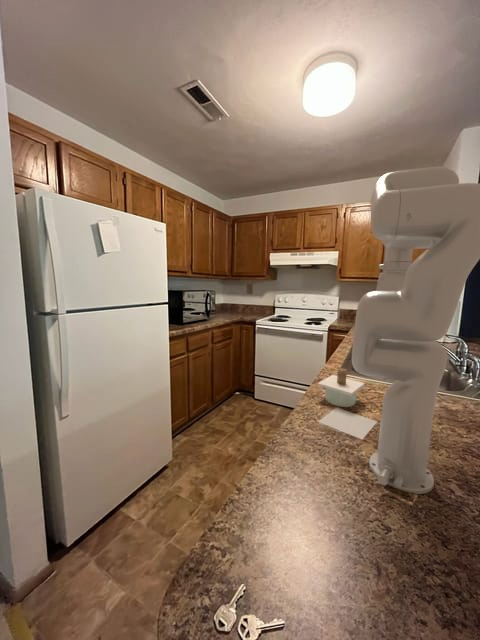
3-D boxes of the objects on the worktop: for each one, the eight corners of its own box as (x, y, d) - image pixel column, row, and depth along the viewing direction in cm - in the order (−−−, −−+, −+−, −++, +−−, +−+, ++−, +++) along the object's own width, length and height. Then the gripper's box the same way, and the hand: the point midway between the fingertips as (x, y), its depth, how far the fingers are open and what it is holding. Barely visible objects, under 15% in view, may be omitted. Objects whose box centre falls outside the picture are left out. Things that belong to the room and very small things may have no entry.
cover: (351, 396, 87) (353, 378, 86) (317, 385, 95) (318, 369, 94) (364, 385, 96) (366, 369, 95) (332, 377, 104) (333, 362, 103)
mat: (362, 441, 73) (362, 439, 73) (317, 423, 82) (318, 421, 81) (377, 423, 82) (377, 421, 82) (336, 409, 91) (336, 407, 91)
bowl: (348, 411, 90) (349, 394, 89) (320, 401, 96) (321, 385, 95) (359, 401, 97) (360, 385, 96) (332, 393, 104) (333, 378, 103)
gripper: (364, 268, 88) (360, 319, 91) (427, 267, 76) (420, 326, 79) (371, 269, 94) (367, 317, 96) (431, 268, 82) (425, 323, 84)
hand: (391, 321), depth 88 cm, fingers open, 9 cm apart
